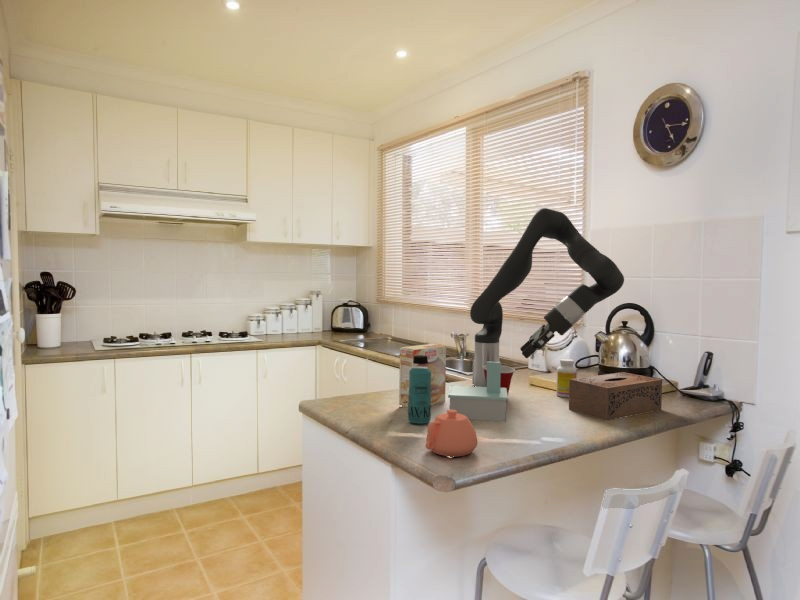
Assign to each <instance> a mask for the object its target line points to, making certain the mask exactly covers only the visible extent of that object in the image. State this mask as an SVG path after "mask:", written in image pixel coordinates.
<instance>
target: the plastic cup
mask: <svg viewBox="0 0 800 600" xmlns="http://www.w3.org/2000/svg"><path fill="white" fill-rule="evenodd" d="M482 367H483V369H484V374H485V380H486V387H487V365H483V366H482ZM515 372H516V369H515V368H513V367H511V366H507V365H502V364H501V377H500V388H506V389H507V396H509V391H510V387H511V382H512V379H513V375H514V373H515ZM507 401H508V400H506V402H507Z"/></svg>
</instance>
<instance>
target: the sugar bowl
mask: <svg viewBox="0 0 800 600" xmlns="http://www.w3.org/2000/svg"><path fill="white" fill-rule="evenodd" d="M426 428H427V429H426V430H427V431H426V432H427V434H426V439H425V440H426V441H425V448H426V449H427V450H430V451H432V452H433V453H434V454H437V455H440V456H444V457H447V456H450V457H453V456H455V457H462V456H467V455H469V454H471V453H472V452H473V451H475V449H476V448H477V446H478V436H477V432H476V429H475V428H474V426H473V424H472V422H471V421H470V420H469V419H468V418H467V417H466V416H465V415H462V414H458V413H457V411H456V410H450V409H447V410H446V412H444V413H440V414H437V416H436V417H434V420H432V421H431V422H429V424H428V425H427V427H426Z"/></svg>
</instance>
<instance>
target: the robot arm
mask: <svg viewBox="0 0 800 600" xmlns="http://www.w3.org/2000/svg"><path fill="white" fill-rule="evenodd" d="M542 238H545V239H546V238H547V239H550V240H557V241H558V242H560V243H561V244H563V245H564V246H565V247H566V249H567V253H568V255H569V258H571V260H572V261H573V262H574V263H575V264H576V265H577V266H578V267H579V268H580V269H581V270H583V271H584V272H586V273H588V274H589V276H591V278H592V279H593V280H594V281H595V283H594V284H592V285H590V286H588V285H586V284H579V286H577V287H576V288H575V289H574V290H572V291H571V292H570V293H569V294H568V295H567V296H566V297H564V298H563V299H561V300H560V301H559V302H558V303H557V304H556V305H555V306H554V307H552V308H551V309H550V310H549V311H548V312H547V313H546V314H545V315H544V316H543V319H544V320H545V322H547V324H542V325H541V326H540V327H539V328H538V329H537V330H536V331H535V332H534V333H532V335H530V336H529V338H528V340H527V341H526V342H525V343H524V344H523V345H522V346H520V351H521V354H522V356H523V357H524V358H526V359H528V358H530V357H531V356H532V355H533V354H534V353H535V352H536V351H538V350H539V351H540V350H542V349H543V347H544V346H546V345H547V343H549V342H550V341H551V340H552V339H553V338H555V336H556V335H555V333H558V335H559V336H564V335H565V334H566V333H567V332H568V331H569V330H570V329H571V328H572V327H574V326H575V325H576V324H577V323H578V322H579V321H580V320H581V319H582V318H583V317H584V316H585V315H586V313H588V312H589V311H590V310H591V309H592V308H593V307H594V306H595V305H596V304H598V303H600V302H602V301H604V300H605V299H608V298H609V297H611V296H613V295H614V294H616V293H617V292H618V291H620V289H621V288H622V287H623V285H624V283H625V276H624V274H623V273H622V271H621V270H620V269H619V267H618V266H617V264H616V263H615V262H614V261H613V260H612V259H611V258H610V257H608V256H607V255H605V254H603V253H602V252H600V251H599V250H598V249H597V248H596V247H595V246H594V245H593V244H591V243H590V242H589V241H587V239H586V238H584V236H583V235H582V234H581V233H580V232H579V230H578V229H577V228H576V227H575V225H574V224H573V223H572V221H571V219H569V217H568V216H567V215H566V214H565V213H564V212H561V211H559V210H558V211H557V210H555V209H550V208H547V207H546V208H545V207H543V208H540V209H538V210H537V211H536V212H535V214H533V216H532V218H531V219H530V221H529V223H528V224H527V226H526V228H525V230H524V232H523V233H522V235H521V237H520V239H519V241H518V242H517V243H516V245H515V247H514V248H513V249H512V251H511V253H510V254H509V255H508V257H507V258H506V260H505V261H504V262H503V264H501V267H500V268H499V270H498V272H497V273H496V274H495V276H494V277H493V278H492V280H491V281H490V282H489V284H488V286H487V287H486V288H485V289H484V290H483V292H481V294H480V295H479V296H478V297H477V298H476V300H475V301H474V302H473V304H472V305H471V307H470V311H469V312H470V313H469V316H470V319H471V321H472V322H473V323H475V324H478V325H482V328H481V330H479V331H478V332H476V333H475V335H474V359H473V360H472V384H474V385H473V387H474V386H476V387H486V380H485V374H484V369H483V367H482V366H483V365H487V361H491V362H500V340H501V339H500V338H501V335H502V331H503V318H504V317H503V316H504V315H503V314H504V311H503V307H502V304H501V302H500V301H501V300H502V299H504V298H505V297H506V296H508V295H509V294H511V293H512V292H513V291H515V290H516V289H518V287H519V286H520V285H521V284H523V283H524V281H525V279H526V278H527V277H528V276H529V274H530V273H531V270H532V266H533V253H534V249H535V247H536V246H537V244H538V242H540V240H541V239H542Z"/></svg>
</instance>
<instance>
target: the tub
mask: <svg viewBox="0 0 800 600" xmlns="http://www.w3.org/2000/svg"><path fill="white" fill-rule="evenodd" d="M506 408H507V401H506V400H487V399H466V398H449V410H456V411H457V413H458V414H462V415H465V416H466V417H467V418H468V419H469V421H470V420H471V421H489V422H491V421H492V422H506V415H507V414H506V413H507V411H506V410H507V409H506Z"/></svg>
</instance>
